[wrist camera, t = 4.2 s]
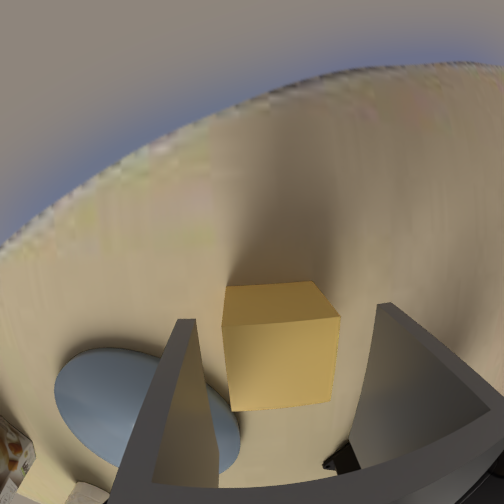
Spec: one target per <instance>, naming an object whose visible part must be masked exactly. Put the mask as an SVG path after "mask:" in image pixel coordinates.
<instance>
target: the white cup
mask: <svg viewBox="0 0 504 504" xmlns="http://www.w3.org/2000/svg"><path fill="white" fill-rule="evenodd" d="M109 496H110V494H109V493H108V492H106V491H104V490H102V489H100V488H98V487H96V486H94V485H91V484H88V483H85V482H77V483H76V484H75V486H74V488H73V490H72V492H71V494H70V495H69V497H68V499H67V500H66V502H65V504H103V503H104V502H105V501H106V500H107V499H108V498H109Z"/></svg>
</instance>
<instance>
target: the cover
mask: <svg viewBox="0 0 504 504" xmlns="http://www.w3.org/2000/svg"><path fill="white" fill-rule="evenodd" d="M348 439H349V441H350V443H351V446H352V448H353V450H354V453H355V455H356V457H357V460H358V462H359V465H360V467H361V469H360V470H357V471H353V472H349V473H345V474H341V475H337V476H333V477H328V478H323V479H318V480H313V481H307V482H300V483H294V484H286V485H277V486H266V487H252V488H218V484H219V455H220V453H219V449H218V444H217V440H216V435H215V430H214V425H213V421H212V416H211V410H210V405H209V400H208V395H207V389H206V383H205V378H204V372H203V365H202V359H201V353H200V346H199V339H198V332H197V325H196V319H178V320H177V322H176V324H175V326H174V329H173V331H172V333H171V336H170V338H169V340H168V343H167V345H166V347H165V350H164V352H163V354H162V357H161V359H160V362H159V364H158V366H157V369H156V371H155V374H154V376H153V379H152V381H151V384H150V386H149V389H148V391H147V394H146V396H145V399H144V401H143V404H142V406H141V409H140V411H139V414H138V417H137V419H136V422H135V425H134V427H133V430H132V433H131V435H130V438H129V441H128V443H127V446H126V449H125V452H124V455H123V457H122V460H121V463H120V466H119V469H118V472H117V475H116V478H115V480H114V483H113V486H112V490H111V493H110V496H109V499H108V502H107V504H454V503H455V502H456V501H457V500H459V499H460V498H461V497H462V496H463V495H464V494H465V493H466V492H467V491H468V490H469V489H470V488H471V487H472V486H473V485H474V484H475V483H476V482H477V481H478V479H479V478H480V477H481V476H482V475H483V474H484V473H485V472H486V471H487V469H488V468H489V467H490V466H491V465H492V464H493V462H494V461H495V460H496V459H497V458H498V456H499V455H500V454H501V453H502V451H503V450H504V397H503V396H502V395H501V394H500V393H499V392H498V391H497V390H495V389H494V388H493V387H492V386H491V385H490V384H489V383H488V382H487V381H485V380H484V379H483V378H482V377H481V376H480V375H479V374H478V373H476V372H475V371H474V370H473V369H472V368H471V367H470V366H468V365H467V364H466V363H465V362H464V361H463V360H461V359H460V358H459V357H458V356H457V355H456V354H454V353H453V352H452V351H451V350H450V349H449V348H447V347H446V346H445V345H444V344H443V343H441V342H440V341H439V340H438V339H436V338H435V337H434V336H433V335H432V334H430V333H429V332H428V331H427V330H425V329H424V328H423V327H422V326H421V325H419V324H418V323H417V322H416V321H414V320H413V319H412V318H411V317H409V316H408V315H407V314H405V313H404V312H403V311H402V310H400V309H399V308H398V307H397V306H395V305H394V304H393V303H391V302H389V303H382V304H377V309H376V316H375V323H374V330H373V336H372V342H371V348H370V353H369V358H368V363H367V368H366V373H365V378H364V382H363V386H362V391H361V395H360V399H359V403H358V407H357V410H356V414H355V418H354V421H353V425H352V428H351V431H350V435H349V438H348Z"/></svg>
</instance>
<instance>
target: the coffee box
mask: <svg viewBox="0 0 504 504" xmlns="http://www.w3.org/2000/svg"><path fill="white" fill-rule="evenodd" d="M35 459H36V456H35V452H34V448H33V444H32V442H31V441H30V440H29V439H28V438H27V437H25V436H24V435H23V434H21V433H20V432H19V431H18V430H16V429H15V428H14V427H13V426H12V425H10V424H9V423H8V422H7V421H6V420H5V419H3V418H2V417H1V416H0V504H10V502H11V500H12V499H13V497H14V495H15V493H16V491H17V489H18V488H19V486H20V484H21V482H22V481H23V479H24V477H25V476H26V474H27V472H28V471H29V469H30V467H31V466H32V464H33V462H34V461H35Z"/></svg>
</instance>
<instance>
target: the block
mask: <svg viewBox="0 0 504 504" xmlns="http://www.w3.org/2000/svg"><path fill="white" fill-rule="evenodd" d="M340 318H341V316H340V315H339V314H338V312H337V311H336V310H335V309H334V307H333V306H332V305H331V304H330V302H329V301H328V300H327V299H326V297H325V296H324V295H323V294H322V292H321V291H320V290H319V289H318V287H317V286H316V285H315V284H314V283H313V281H304V282H291V283H276V284H261V285H245V286H227V287H226V291H225V300H224V309H223V317H222V326H221V327H222V336H223V345H224V354H225V363H226V371H227V379H228V387H229V395H230V403H231V410H232V412H233V411H253V410H267V409H278V408H287V407H295V406H303V405H310V404H317V403H323V402H329V401H330V399H331V393H332V386H333V380H334V373H335V365H336V357H337V349H338V339H339V330H340Z"/></svg>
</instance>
